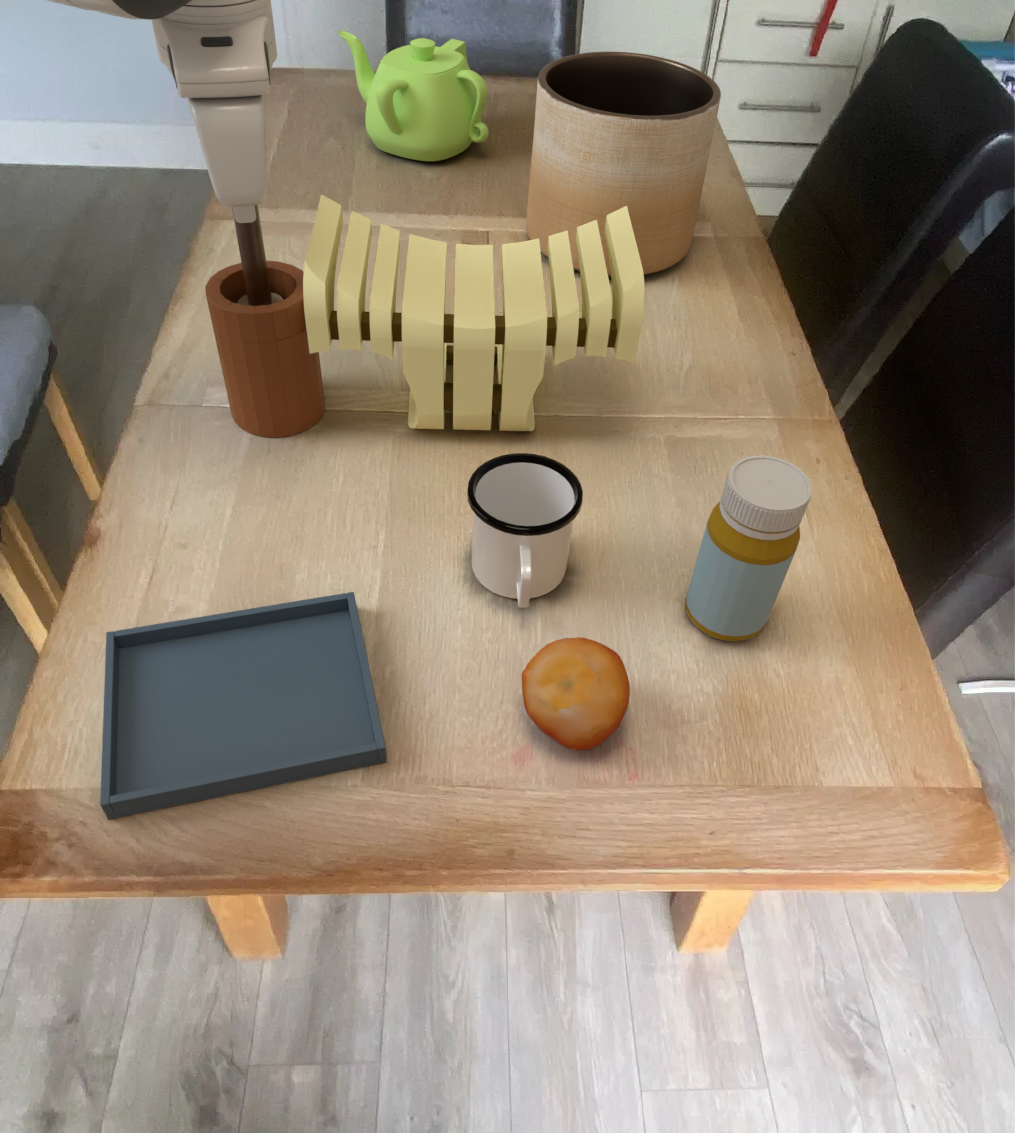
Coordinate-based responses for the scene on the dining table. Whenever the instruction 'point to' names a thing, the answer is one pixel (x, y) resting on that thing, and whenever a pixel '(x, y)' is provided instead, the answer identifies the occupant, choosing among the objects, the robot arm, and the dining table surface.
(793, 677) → the dining table surface
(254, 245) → the bottle brush
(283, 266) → the terracotta utensil crock
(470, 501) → the mug
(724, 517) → the bottle
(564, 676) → the fruit
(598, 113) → the planter
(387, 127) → the teapot
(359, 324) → the slatted curved stool
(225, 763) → the tray
